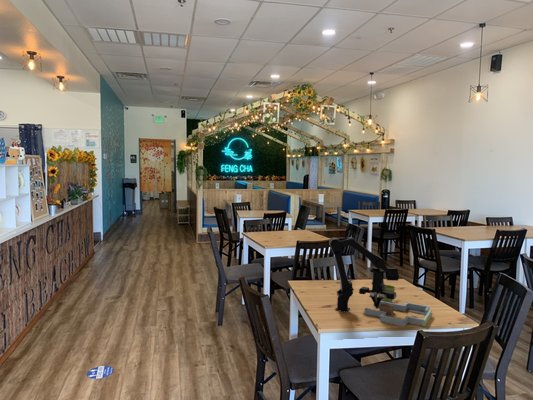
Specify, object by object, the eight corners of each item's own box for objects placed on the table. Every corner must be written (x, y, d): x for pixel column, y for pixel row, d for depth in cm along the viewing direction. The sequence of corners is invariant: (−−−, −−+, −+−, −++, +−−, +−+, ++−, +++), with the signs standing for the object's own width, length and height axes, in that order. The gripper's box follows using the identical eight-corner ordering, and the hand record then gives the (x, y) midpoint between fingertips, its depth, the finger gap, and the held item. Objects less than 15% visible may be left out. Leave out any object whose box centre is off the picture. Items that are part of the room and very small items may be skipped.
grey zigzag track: (422, 330, 186) (422, 324, 186) (360, 317, 202) (360, 311, 202) (433, 312, 211) (433, 307, 210) (377, 302, 227) (377, 297, 226)
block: (390, 315, 205) (391, 308, 205) (379, 313, 208) (379, 306, 208) (393, 312, 211) (393, 305, 210) (381, 310, 214) (381, 303, 213)
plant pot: (380, 298, 235) (381, 283, 234) (396, 300, 230) (397, 286, 229) (376, 302, 227) (376, 287, 226) (393, 305, 222) (393, 290, 221)
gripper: (399, 279, 213) (398, 307, 214) (365, 274, 223) (364, 301, 224) (394, 284, 204) (393, 313, 205) (359, 278, 213) (358, 306, 214)
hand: (376, 308), depth 212 cm, fingers closed
